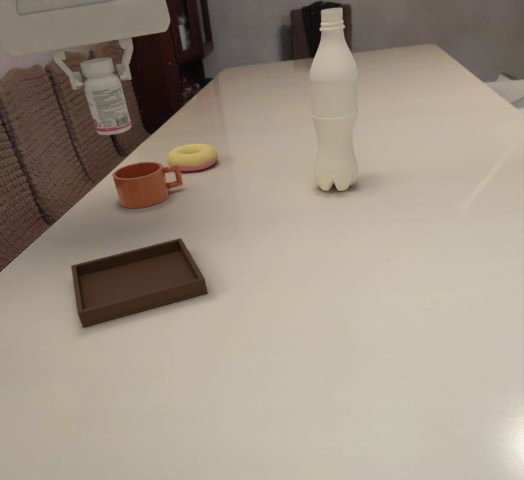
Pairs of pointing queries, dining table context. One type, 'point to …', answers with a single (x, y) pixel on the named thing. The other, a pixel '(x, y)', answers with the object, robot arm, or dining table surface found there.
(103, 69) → the pill bottle
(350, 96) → the water bottle
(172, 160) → the donut
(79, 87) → the robot arm
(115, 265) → the tray
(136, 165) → the mug
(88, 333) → the dining table surface
